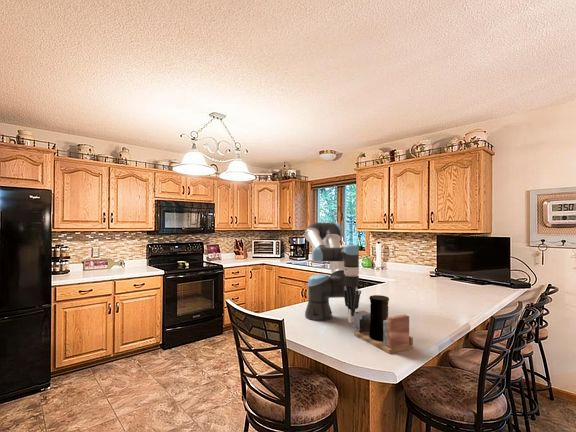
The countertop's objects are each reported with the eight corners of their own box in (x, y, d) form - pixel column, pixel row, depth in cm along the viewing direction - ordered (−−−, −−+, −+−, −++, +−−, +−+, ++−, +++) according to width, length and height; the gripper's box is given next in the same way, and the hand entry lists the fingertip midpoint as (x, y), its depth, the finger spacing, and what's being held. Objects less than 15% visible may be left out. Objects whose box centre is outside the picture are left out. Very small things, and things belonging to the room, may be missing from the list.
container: (385, 333, 143) (385, 294, 143) (393, 341, 134) (392, 299, 134) (366, 333, 143) (366, 294, 143) (372, 341, 134) (372, 299, 134)
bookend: (350, 328, 150) (350, 312, 150) (367, 325, 154) (366, 310, 154) (359, 332, 144) (359, 316, 144) (376, 329, 148) (376, 313, 148)
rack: (353, 335, 145) (353, 306, 145) (375, 331, 151) (375, 303, 151) (389, 353, 124) (389, 320, 125) (412, 348, 130) (412, 316, 130)
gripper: (337, 273, 162) (338, 319, 161) (353, 277, 150) (353, 326, 149) (349, 272, 165) (349, 317, 164) (365, 276, 153) (365, 324, 153)
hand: (351, 321), depth 157 cm, fingers closed
